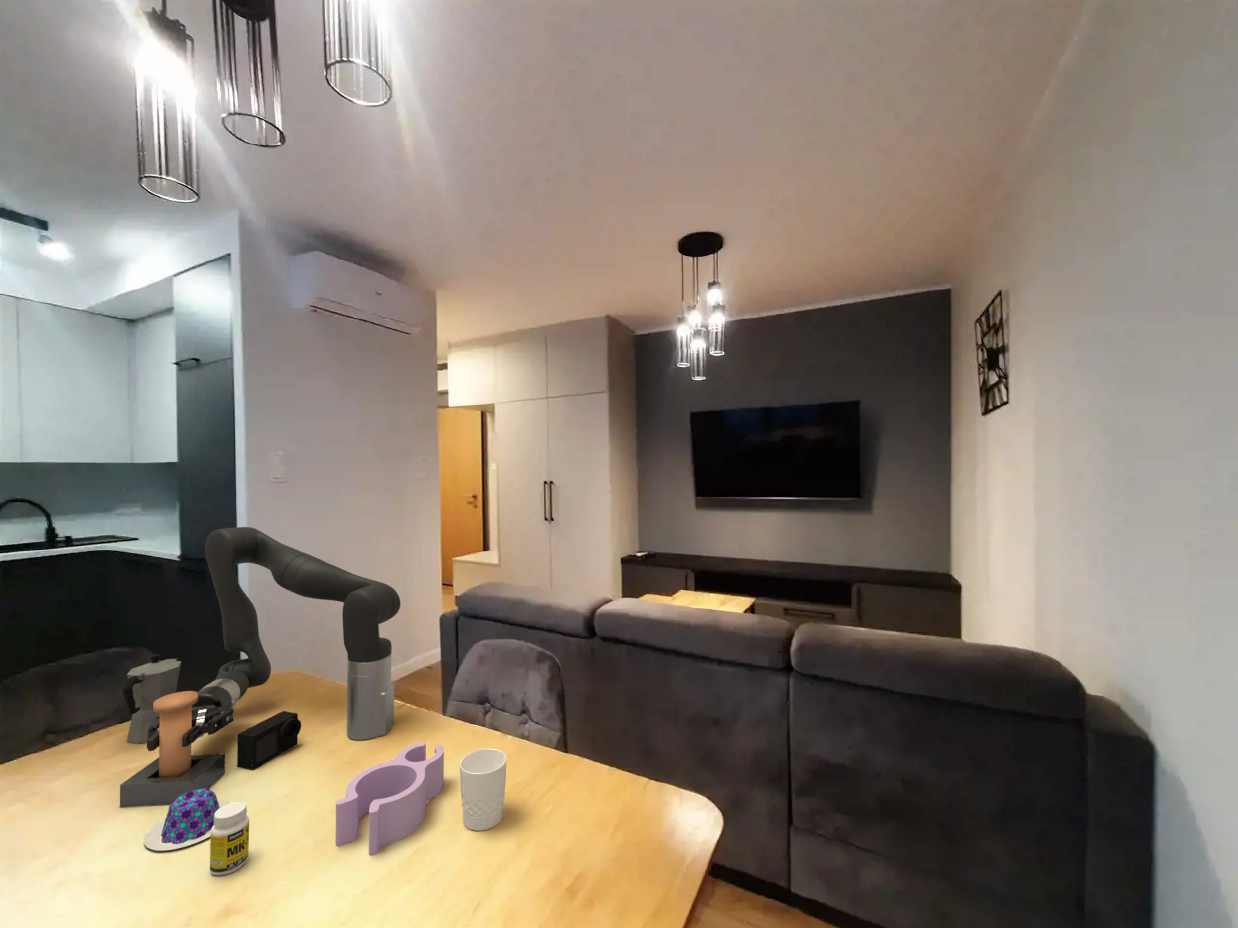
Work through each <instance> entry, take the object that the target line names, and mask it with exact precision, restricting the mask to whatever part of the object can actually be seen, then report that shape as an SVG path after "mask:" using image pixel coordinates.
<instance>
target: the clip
mask: <svg viewBox="0 0 1238 928" xmlns="http://www.w3.org/2000/svg"><path fill="white" fill-rule="evenodd" d="M444 751H445V750H444V747H443V745H441V744H440V745H436V746H435V747H434V755H433V756H431V757H429V758H427V757H426V756H427V754H426V753H427V743H426V742H424V741H423V742H417V743H414V744H411V745H409V746H407V747H405V748H403V749H402V750H401V751H399V753H398V754H397V755H396V757H394V758H393V759H391V760H389V761H387V762H384V763H380V764H377V765H374V766H371V767H369V768H367V769H364V770H363V771H361V772H360V773H358V774H356V775H355V777H353V778H352V779H351V780H350V781H349V783H348V784H347V786H346V788H345V797H343V798H339V799H338V800H336V802H335V847H341V846H344V845H347V844H349V843H351V842H354V841H355V840H357V839H358V838H359V820H360V819H361V818H362V817H363V816H364V815H365V814H367V813H368V855H369V856H374V855H377V854H378V853H379V849H380V847H383V846H385V845H390V844H393V843H395V842H398V841H400V840H401V839H404V838H405V837H407V836H409V835H410V834H412V833H413V832H414V831H415V830H416V829H417V828H418V827H420V825H421V824H422V823H423V821H424V818H425V815H426V805H427V803H428V802H429V801H430V799H431V798H432V799H434V798H435V797H437V796H438V795H439V794H441V792H442V791H443V789H444V785H445V784H444V783H445V780H444V779H445V778H444V777H445V775H444V774H445V773H444V770H445V769H444V768H445V764H444V763H445V759H444V756H445V752H444ZM426 758H427V759H426ZM433 797H434V798H433ZM432 799H431V800H432ZM428 800H429V801H428ZM427 801H428V802H427ZM426 802H427V803H426ZM425 804H426V805H425Z"/></svg>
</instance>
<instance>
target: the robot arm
mask: <svg viewBox="0 0 1238 928" xmlns="http://www.w3.org/2000/svg"><path fill="white" fill-rule="evenodd" d="M204 544H205V545H204V550H205V553H204V554H205V558H206V563H207V565H208V569H209V572H210V577H211V580H212V583H213V587H214V590H215V594H216V597H217V600H218V604H219V608H220V613H221V622H222V633H223V634H222V635H223V645H224V649H225V651H227V652H241V653H244V654H245V655H246V657H247V658H242V659H237V660H232V661H229V662H227V663H225V664H223V665H222V666H221V667H220V668H219V670H218V672H217V675H216V677H215V679H214V680H212V682H210V683H208V684H206V685H205V686H203V687H202V688H201V689H200V690H199V691H197V693H198V701H197V702H196V703H195V704H193V705H192V728H191V729H190V730H188V731H187V732H186V733H185V734H184V735H183V737H182V747H188V746H189V745H190V744H191V745H192V744H193V743H195V741H197V740H198V739H199V738H202V737H203V736H204V735H205V734H207V735H208V736H211V735H215V734H217V732H220V730H222V729H224V728H225V727H227V726H228V725H230V724H231V723H232V722H234V721H235V719H234V717H235V712H234V711H235V706H236V704H237V702H238V701H239V700H241V698H243V697H244V695H246V693H247V691H248V689H250V688H255V687H259V686H262V685H264V684H266V683H267V682H268V680H269V678H270V677H271V674H272V673H271V672H272V666H271V663H270V660H269V657H268V655H267V653H266V651H265V649H264V647H263V644H262V640H261V638H260V632H259V631H260V630H259V620H258V613H257V610H256V607H255V605H254V603H253V602H252V601H251V599H250V598H249V596H248V595H247V594H246V593H245V591H244V589H242V587H241V585H240V583H239V582H238V581H239V580H238V578H237V575H236V565H239V564H255V565H258V566H261V567H263V568H266V569H267V570H269V571H270V573H271V576H272V577H273V580H274V582H275V583H276V584H277V585H278V586H279V587H281V588H283V589H284V590H287V591H288V592H291V593H294V594H296V595H298V596H299V597H300V596H301V597H303V598H309V599H313V600H314V599H315V600H324V601H333V602H339V603H343V605H342V613H341V614H342V616H341V617H342V633H343V634H342V636H343V644H344V647H345V650H346V653H347V654H346V655H347V666H346V667H347V668H346V669H347V672H346V673H347V675H346V677H347V679H346V684H347V685H346V735H347V737H348V738H349V739H351V740H355V741H364V740H370V739H374V738H377V737H381V736H386V735H387V733H388V732H389V731H390V729H391V728H392V726H393V725H394V723H395V683H394V682H392V649H393V648H392V642H391V640H390V639H388V638H386V637H380V630H379V629H380V627H379V625H380V624H383V623H385V622H387V621H389V620H390V619H391V620H392V618H393V617H396V615H397V614H398V613H399V611H400V609H401V597H400V596H399V595H400V594H399V593H398V592H397V591H396V589H395V588H394V587H392V586H390V584H389V585H388V584H387V583H384V582H381V581H377V580H375V579H370V578H367V577H363V576H360V575H359V574H354V573H353V572H350V571H348V570H345V569H344V568H343V569H342V568H341V567H339V566H336V565H333V564H331V563H328V562H327V561H324V560H322V559H320V558H318V557H316V556H315V555H312V554H308V553H306V552H303V551H301V550H298V549H297V548H294V547H292V546H289V545H285V544H284V543H282V542H279V541H278V540H276V539H274V538H272V537H271V536H269V535H268V534H266V533H264V532H263V531H261V530H259V529H257V528H254V527H251V526H237V527H228V528H227V527H225V528H219V529H215V530H213V531H212V532H210V534H209V535H208V536H207V537H206V540H205V543H204ZM159 729H160V716H157V717H155V718H154V719H153V721H152V722H151V724H150V726H149V728H148V740H147V743H146V749H147V751H148V752H154V751H155V750H156V749H157V748H158V747H159Z"/></svg>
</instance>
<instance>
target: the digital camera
mask: <svg viewBox="0 0 1238 928" xmlns="http://www.w3.org/2000/svg"><path fill="white" fill-rule="evenodd" d="M301 729H302V722H301V720H300V719H299V714H298V713H297V712H294V711H293V712H292V711H286V710H282V711H281V712H278V713H276V714H274V715H273V716H270V717H268V718H266V719H264V720H262V721H260V722H258V723H256V724H255V725H254V724H253V725H252V726H250V727H248V728H246V729H245V730H242V731H240V732H238V733H237V735H236V736H237V737H236V738H237V742H236V743H237V753H236V754H237V756H236V758H237V759H236V760H237V761H236V763H237V764H236V767H237V768H240V769H244V770H249V771H255V770H257V769H259V767H262V766H263V765H265V764H267V763H268V762H271V761H272V760H274V759H275V758H277V757H278V756H280V755H283V754H284V753H285V752H287V751H289V750H291V749H292V748H293V747H296V746H297V745H298V742H299V741H298V737H299V736H298V735H299V733H300V731H301Z"/></svg>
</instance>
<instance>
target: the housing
mask: <svg viewBox="0 0 1238 928" xmlns="http://www.w3.org/2000/svg"><path fill="white" fill-rule="evenodd" d="M225 774H226V753H212V754H211V753H210V754H209V753H208V754H191V769H190V770H188V771H187V772H186V773H185V774H183V775H182V776H181V777H166V778H159V757H157V758H156V759H154V760H153V761H152V762H151V763H149V764H147V765H146V766H144V767H143V768H141V770H138V772H136V773H135V774H133V775H132V776H131V777H129V778H128V779H127V780H125V781H123V782H121V784H120V785H119V808H130V807H131V808H132V807H150V806H151V807H152V806H166V805H169V806H170V805H171V803H172V802H173V801H174V800H176V799H177V798H178V797H179V796H181V795H183V794H185V793H189V792H190V791H193V790H196V789H204V788H207V789H210V788H211V787H213V785H214V784H215V783H216V782H218V781H219V780H220V779H221V778H222V777H223V776H224V775H225Z"/></svg>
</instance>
